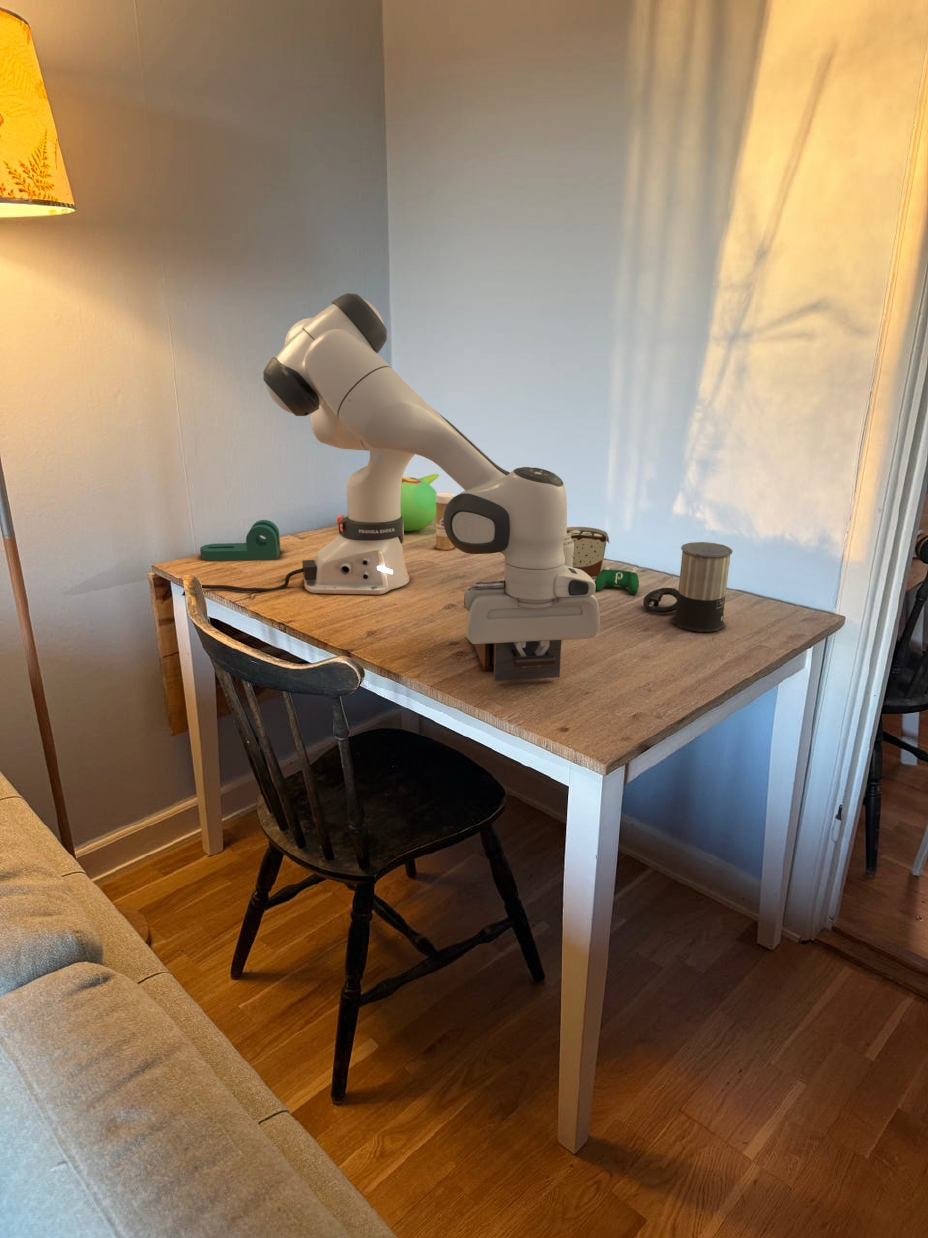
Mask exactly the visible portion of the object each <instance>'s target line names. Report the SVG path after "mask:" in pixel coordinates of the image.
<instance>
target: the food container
mask: <svg viewBox="0 0 928 1238" xmlns="http://www.w3.org/2000/svg"><path fill="white" fill-rule="evenodd" d="M566 533H569V534H571V539H572V541H573V543H574V553H573V568H577V569H580V570H582V571H584V572H585V573H587V574H588V575H589V576H590V577H591V578H592V579H596V578H597V576H598V575H599V574H600V572H601V571H602V570H603V565H604V564H603V563H604V558H605V553H606V549H607V543H608V544H610V537H609V534H608V533H607V532H606V530H603V529H600V528H596V527H589V526H567V532H566Z"/></svg>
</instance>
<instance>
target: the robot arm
mask: <svg viewBox="0 0 928 1238" xmlns="http://www.w3.org/2000/svg"><path fill="white" fill-rule="evenodd" d="M387 339H388V331H387V328H386V326H385V323H384V321H383V318H382V315H381V314H380V312H379V311H378V309H377V308H376V307H375V306H374V305H373V304H372V303H371V302H370V301H368V300H366V299H365V298H363V297H361V296H360V295H358V293H348V292H347V293H344V294H341V295H340V296H338V297H336V298H335V299H333V300H331V304H330V305H329V306H327V307H326V308H325V309H323V310H322V311H320V312H319V313H318V314H316V315H314V317H306V318H302V319H301V320H299V321H297V322H296V323H294V325H292V326H291V328H290V329H289V330H288V332H287V333H286V336H285V340H284V346H283V348H282V349H281V350H280V351H279V353H278V354H277V355H276V356H275V357H274V356H272V358H271V359H270V360H269V362H268V363H267V364H266V366H265V368H264V370H263V371H262V372H263V374H262V375H263V379H262V380H263V382H264V383H265V386H266V389H267V392H268V394H269V396H270V397H271V399H272V400H273V402H274V403H275V404H277V406H278V407H280V408H281V409H283V410H284V411H285V412H288V413H290V414H293V415H294V416H295V417H306V416H309V415H310V426H311V430H312V432H313V434H314V437H315V438H316V439H317V441H318V442H319V443H321V444H325V445H327V446H331V447H333V448H338V449H341V450H353V451H368V452H369V460H368V464H367V465H366V466H364V467H361V468H360V469H358V470H357V471H355V472H354V473H352V474H351V475H350V476H349V479H348V480H347V483H346V504H347V516H345V515H343V514H340V515H337V517H336V519H335V521H336V525H337V526H338V535H337V536H336V537H334V538H333V539H332V540H330V541H329V542H328V543H327V544H326V545H324V546H323V547H322V548H321V549H319V550H318V552H317V554H316V555H315V559H305V560H304V559H303V560H301V563H302V564H301V565H302V567H301V568H298V569H295V570H292V571H290V572H289V573H287V574H286V575H285V578H284V583H282V584H281V585H279V586H276V587H270V588H269V587H268V588H267V587H240V586H235V585H229V584H228V585H227V584H201V585H202V588H203V589H205V590H230V591H235V592H236V591H237V592H243V593H247V592H249V593H251V592H252V593H254V592H256V593H267V592H273V591H278V590H282V589H283V590H284V589H285V588H287V587H288V586H289V583H290V578H292V577H293V576H294V575H298V574H301V573H302V574H303V577H304V579H303V587H304V589H305V590H306V591H308V592H309V593H311V594H332V595H333V594H334V595H335V594H337V595H339V594H340V595H383V594H385V593H387V592H389V591H391V590H394V589H398V588H402V587H404V586H406V585H407V584H408V583H409V582H410V581H411V580H410V579H411V578H410V576H409V572H408V570H407V566H406V565H407V564H406V560H405V554H404V549H403V548H404V547H403V544H404V543H403V542H404V538H405V533H404V532H405V531H404V525H403V518H402V516H401V508H400V503H401V482H402V477H404V473H405V471H406V469H407V466H408V464H409V463H410V462H411V460H412V458H414V457H415V455H417V456H419V457H422V458H425V459H428V460H429V461H431V462H433V463H434V464H436V465H437V466H438V467H439V468H440V469H441V470H442V471H444V472H445V473H446V475H448V476H449V477H450V478H451V479H452V480H453V481H454V482H455V483H457V484H458V485H459V486H460V487H461V488H462V489H463V490H464V491H462V492H460V493H458V494H456V495H454V497H453V498H452V499H451V500H450V501H449V503H448V504H447V506H446V508H445V511H444V518H443V521H444V528H445V532H446V534H447V536H448V538H449V540H450V541H451V543H452V544H453V545H454V547H455V548H456V549H457V550H458V551H460V552H463V553H465V554H468V555H488V554H489V555H490V554H497V553H501V554H502V555H503V557H504V566H503V567H504V568H503V569H504V571H503V580H497V581H496V580H495V581H485V582H484V581H477V582H476V581H475V582H474V583H473V584H472V585H469V586H468V587H467V588H466V590H465V591H464V593H463V606H464V608H465V610H466V613H465V621H464V622H465V623H464V634H465V636H466V639H467V640H468V641H469V643H471V644H473V645H474V644H487V643H507V642H514V644H515V646H516V648H517V650H518V651H519V653H520V655H521V657H522V656H541V655H544V654H545V652H546V651H547V649H548V648H549V643H550V640H561V641H563V640H564V641H565V640H567V641H568V640H582V639H583V640H585V639H594V638H596V636H597V635H599V633H600V627H601V626H600V625H601V623H600V622H601V618H600V617H601V616H600V606H599V605H600V604H599V601H598V599H597V598H596V596H595V595H594V594H595V593H596V590H595V589H596V585H595V583H594V582H595V580H594V579H593V578H591V577H590V576H589V575H588V574H587V573H585V572H584V571H582V570H580V569H577V568H573V567H569V566H566V565H565V556H564V552H563V543H564V539H565V536H566V532H567V527H568V500H567V490H566V486H565V484H564V481H563V480H562V478H561V477H560V476H558V475H557V474H556V473H554V472H553V471H549V470H548V469H544V468H540V467H531V466H530V467H529V466H521V467H516V468H514V469H513V470H511V471H507V469H506V470H505V469H504V468H502V467H501V466H499V465H498V464H496V463H495V462H494V461H493V460H492V459H491V458H490V457H489V456H487V454H485V453H484V452H483V451H482V450H481V449H480V448H479V447H478V446H477V445H476V444H474V443H473V442H472V441H471V439H469V438H468V437H467V436H466V435H465V434H464V433H463V432H461V431H460V430H459V429H458V428H457V427H456V426H455V425H454V424H453V423H451V421H449V420H448V419H447V418H445V417H444V416H443V415H442V414H441V413H440V412H438V411H437V410H436V409H435V408H434V407H432V406H431V405H430V404H429V403H427V401H425V399H423V398H422V397H421V396H420V395H419V394H418V393H417V392H416V391H415V390H414V389H413V388H412V387H411V386H410V385H409V384H408V383H407V382H406V381H405V380H404V379H403V378H402V377H401V376H400V375H399V374H398V373H397V372H396V371H395V369H394V368H392V366H391V365H390V364H389V363H388V362H387V361H386V360H385V359H384V358H383V357H381V356H380V354H379V352H380V351H381V350H382V349H383V347H384V346H385V344H386V342H387ZM472 588H474V589H472ZM181 596H186V595H185V591H183V593H181ZM527 641H538V643H539V646H538V648H537V650H536V651H535V653H524V651H523V649H522V648H525V647H526V642H527ZM534 667H541V666H534ZM522 668H525V667H522Z"/></svg>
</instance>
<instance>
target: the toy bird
mask: <svg viewBox="0 0 928 1238" xmlns="http://www.w3.org/2000/svg"><path fill="white" fill-rule="evenodd" d="M439 477H440V474H439V473H434V474H428V475H426V476H422V477H419V478H417V477H406V476H403V477H402V482H401V503H400V508H401V516H402V518H403V525H404V532H413V531H418V530H422V529H425V528H426V527H429V526H430V525H431V524H432V523H433V522H434V521H436V494H437V493H438V492H437V491H436V490H435V488H434V487H433V486H431V484H432V483H433V482H434V481H435V480H437V479H438V478H439Z"/></svg>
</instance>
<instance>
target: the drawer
mask: <svg viewBox="0 0 928 1238" xmlns="http://www.w3.org/2000/svg"><path fill="white" fill-rule="evenodd" d="M538 646H539V643H538V641H527V642H526V647H525V648H522V649H523V651H524V653H535V651H536V650H537V648H538ZM561 657H562V640H550V643H549V648H548V649H547V651H546V652H545V654H544V655H541V656H522V657H521V655H520V653H519V651H518V650H517V648H516V646H515V644H514V642H507V643H490V659H491V661H492V663H493V665H494V670H493V679H494V681H495V682H501V681H517V680H518V681H519V680H536V679H551V678H552V679H553V678H555V679H556V678H560V677H561V676H560V674H561V673H560V672H561ZM534 666H541V667H534ZM522 667H525V668H522Z"/></svg>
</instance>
